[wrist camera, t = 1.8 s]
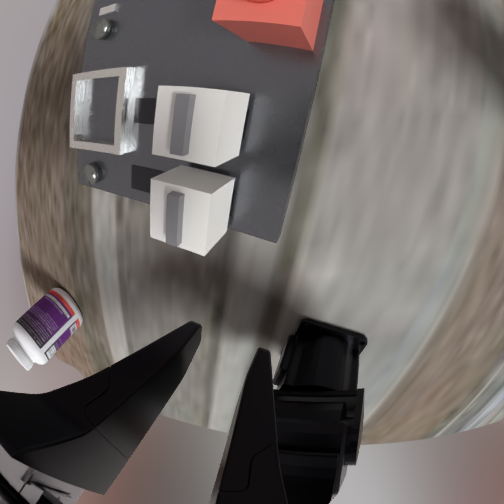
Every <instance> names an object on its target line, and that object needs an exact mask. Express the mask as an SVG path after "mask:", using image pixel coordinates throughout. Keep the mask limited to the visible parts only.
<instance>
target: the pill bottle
mask: <svg viewBox="0 0 504 504" xmlns="http://www.w3.org/2000/svg"><path fill="white" fill-rule="evenodd" d="M81 324H82V315H81V312H80V310H79V308H78V306H77V305H76V303H75V302H74V300H73V299H72V298H71V297H70V295H69V294H68V293H66V292H65V291H64V290H62V289H60V288H53V289H51V290H50V291H49V292H48V293H47V294H46V295H44V296H43V297H42V298H41V299H40V300H39V301H38V302H37V303H35V304H34V305H33V306H32V307H31V308H30V309H29V310H28V311H27V312H26V313H25V314H24V315H23V316H22V317H21V318H19V319H18V320H17V321H16V322H15V323H14V325H13V335H14V337H13V339H12V338H11V339H9V340H8V342H7V343H6V345H7V347H8V348H9V350H10V351H11V353H12V354H13V355H14V356H15V358H16V359H17V360H18V361H19V362H20V364H21V365H22V366H23V367H24V368H25V369H26V370H27V371H29V370H30V369H31V368H32V366H33V363H34V362H36V363H37V364H45V363H46V362H47V361H48V360H49V359H50V358H51V357H52V356H53V354H54V353H55V352H56V351H57V350H58V349H59V348H60V347H61V346H62V345H63V344H64V343H65V341H66V340H67V339H68V338H69V337H70V336H71V335H72V334H73V333H74V332H75V331H76V330H77V329H78V328H79V327H80V326H81Z"/></svg>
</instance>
